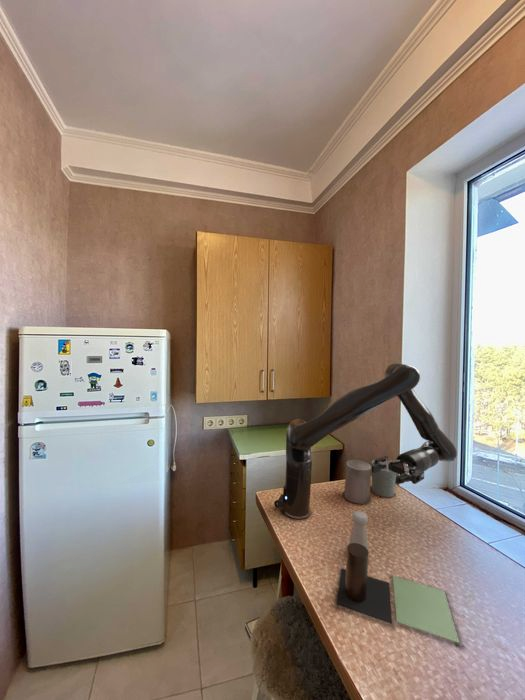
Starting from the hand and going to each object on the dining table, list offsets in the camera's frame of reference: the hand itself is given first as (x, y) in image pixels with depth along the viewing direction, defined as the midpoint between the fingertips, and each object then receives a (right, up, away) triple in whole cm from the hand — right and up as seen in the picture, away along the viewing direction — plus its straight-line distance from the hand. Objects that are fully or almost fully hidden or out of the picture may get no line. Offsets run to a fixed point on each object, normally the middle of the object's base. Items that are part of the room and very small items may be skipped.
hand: (384, 475), depth 91 cm
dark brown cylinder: (-15, -21, -19) cm, 32 cm away
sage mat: (0, -23, -21) cm, 31 cm away
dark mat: (-13, -22, -18) cm, 31 cm away
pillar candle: (0, -21, +28) cm, 35 cm away
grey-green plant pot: (+13, -22, +34) cm, 42 cm away
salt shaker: (-10, -22, -5) cm, 25 cm away
